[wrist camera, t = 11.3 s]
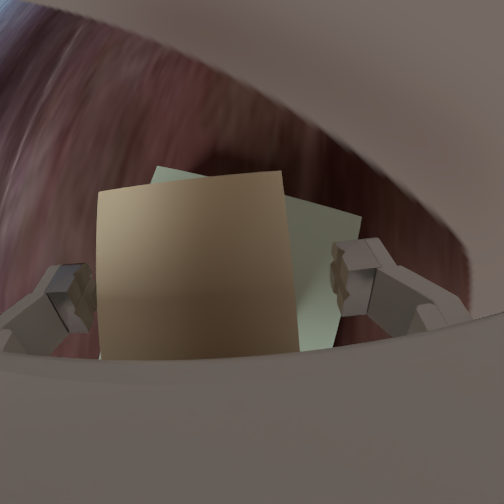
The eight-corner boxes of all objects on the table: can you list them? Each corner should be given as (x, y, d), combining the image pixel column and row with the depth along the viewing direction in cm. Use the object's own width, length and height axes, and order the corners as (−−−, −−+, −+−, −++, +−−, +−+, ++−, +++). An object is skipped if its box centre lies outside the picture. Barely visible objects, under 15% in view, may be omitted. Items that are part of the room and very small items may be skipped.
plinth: (124, 357, 20) (97, 365, 16) (173, 189, 22) (157, 165, 18) (297, 409, 19) (306, 430, 15) (343, 233, 21) (361, 216, 17)
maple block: (181, 345, 16) (103, 378, 7) (174, 251, 17) (98, 191, 8) (278, 339, 16) (301, 371, 7) (269, 243, 17) (281, 170, 8)
